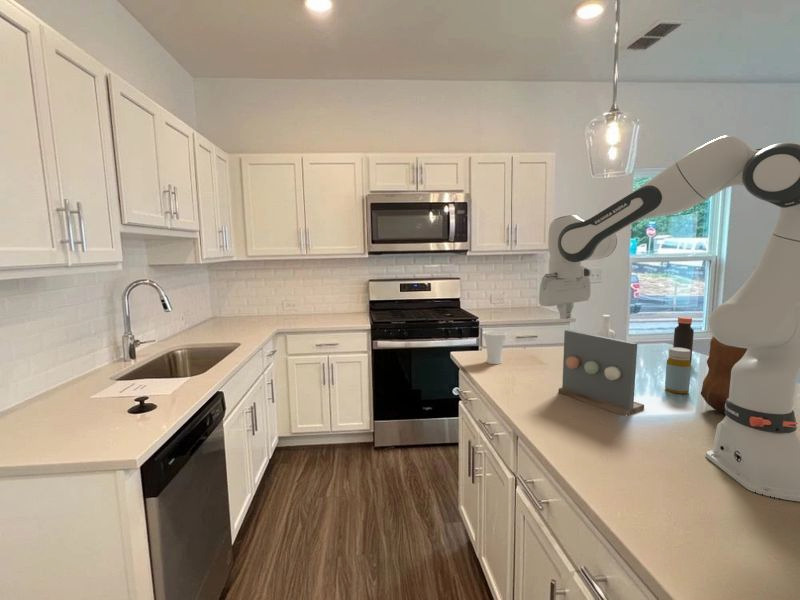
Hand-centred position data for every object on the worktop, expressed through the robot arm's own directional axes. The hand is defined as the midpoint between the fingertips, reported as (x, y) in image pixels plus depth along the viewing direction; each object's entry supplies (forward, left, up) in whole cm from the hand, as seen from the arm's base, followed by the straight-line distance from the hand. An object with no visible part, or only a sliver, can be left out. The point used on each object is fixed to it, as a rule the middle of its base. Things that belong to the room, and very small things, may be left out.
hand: (565, 318), depth 122 cm
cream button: (+6, -15, -20) cm, 25 cm away
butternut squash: (+13, -48, -30) cm, 58 cm away
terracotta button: (+16, -5, -20) cm, 26 cm away
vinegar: (+70, -54, -30) cm, 93 cm away
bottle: (+31, -40, -30) cm, 59 cm away
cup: (+52, +24, -30) cm, 64 cm away
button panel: (+14, -13, -30) cm, 35 cm away
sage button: (+11, -10, -20) cm, 25 cm away
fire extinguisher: (+37, -18, -30) cm, 51 cm away
